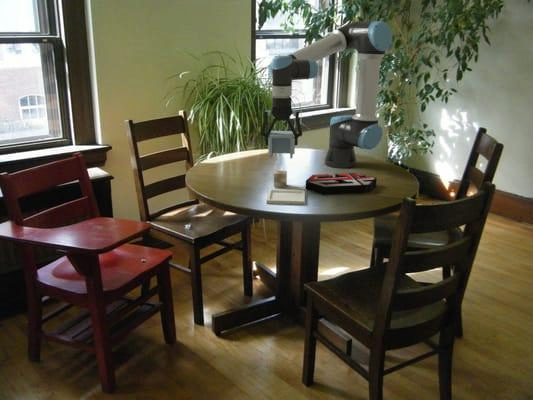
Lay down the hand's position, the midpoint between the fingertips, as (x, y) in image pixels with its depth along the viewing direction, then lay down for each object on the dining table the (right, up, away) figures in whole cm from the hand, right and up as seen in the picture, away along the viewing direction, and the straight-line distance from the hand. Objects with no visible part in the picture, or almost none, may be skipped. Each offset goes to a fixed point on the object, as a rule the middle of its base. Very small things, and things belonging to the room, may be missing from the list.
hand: (281, 153), depth 214 cm
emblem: (+25, -14, +4) cm, 29 cm away
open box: (0, -1, 0) cm, 1 cm away
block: (0, -13, +4) cm, 14 cm away
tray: (+1, -18, -11) cm, 21 cm away
